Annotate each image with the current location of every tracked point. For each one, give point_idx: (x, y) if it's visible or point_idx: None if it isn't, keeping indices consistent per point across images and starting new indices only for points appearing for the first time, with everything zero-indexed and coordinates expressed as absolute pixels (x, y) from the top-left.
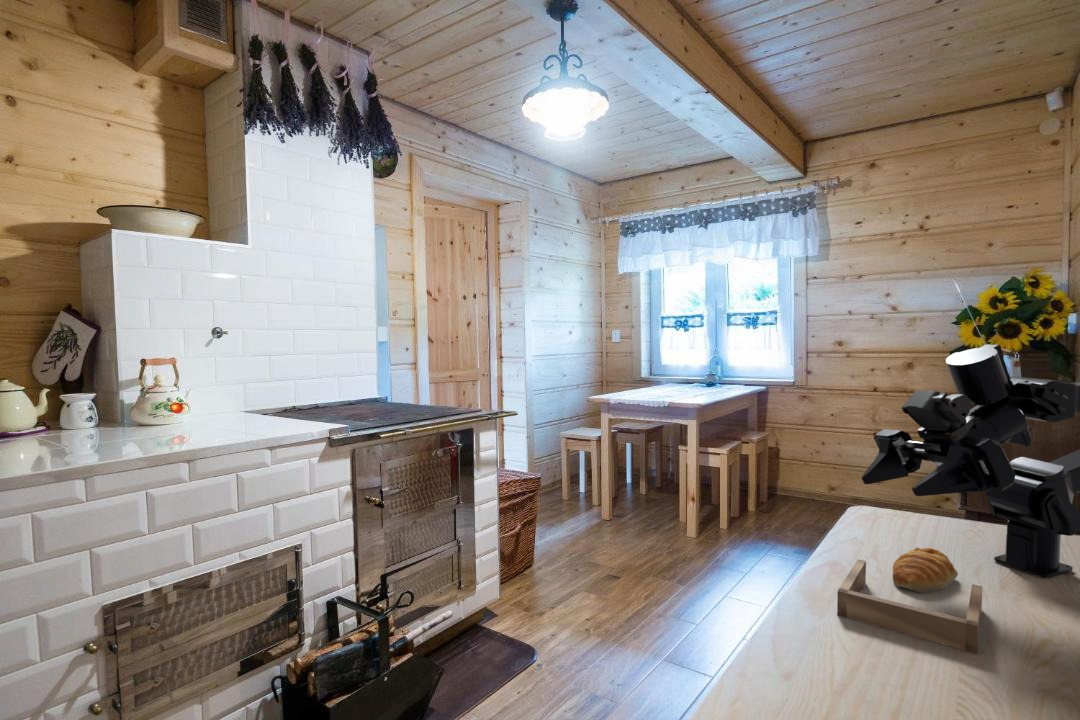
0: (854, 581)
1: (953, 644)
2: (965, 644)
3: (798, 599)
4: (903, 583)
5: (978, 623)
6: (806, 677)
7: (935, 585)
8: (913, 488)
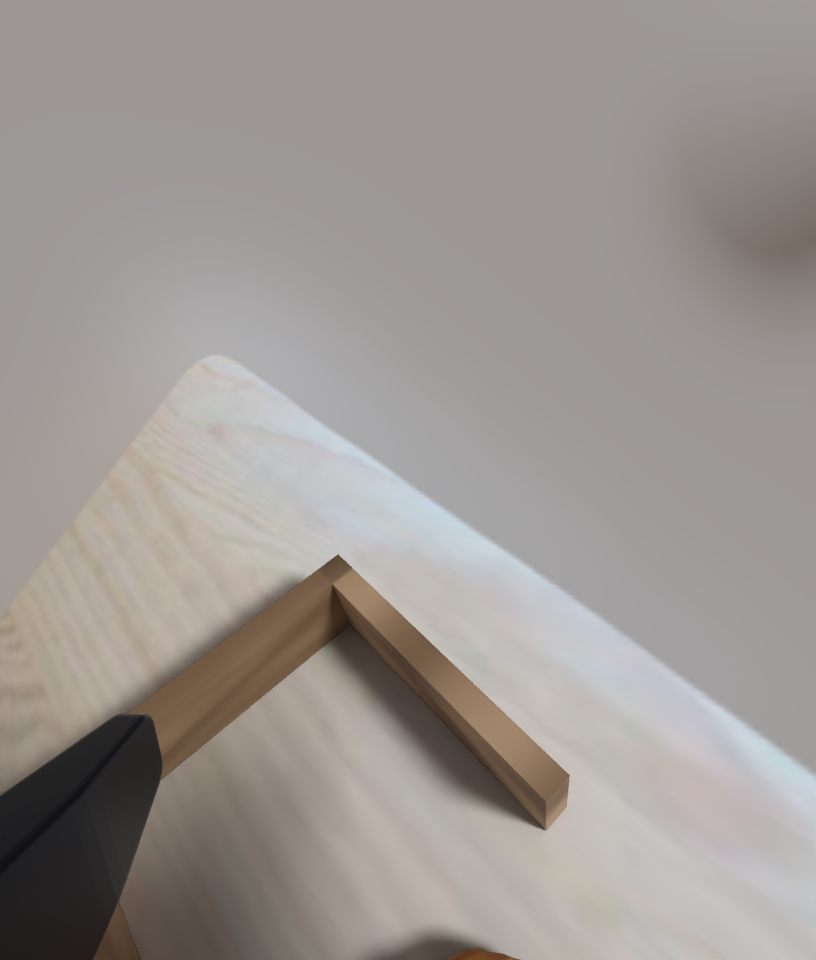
0: (387, 641)
1: None
2: None
3: (455, 547)
4: (452, 956)
5: None
6: (199, 451)
7: None
8: (131, 716)
